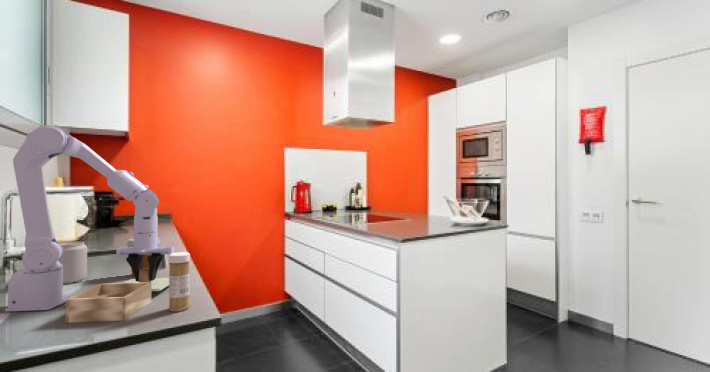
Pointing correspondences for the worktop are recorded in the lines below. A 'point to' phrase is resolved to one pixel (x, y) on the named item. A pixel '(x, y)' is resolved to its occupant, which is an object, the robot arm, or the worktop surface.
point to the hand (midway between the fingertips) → (145, 280)
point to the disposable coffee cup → (145, 260)
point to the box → (108, 302)
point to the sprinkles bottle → (179, 281)
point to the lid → (155, 284)
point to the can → (74, 262)
